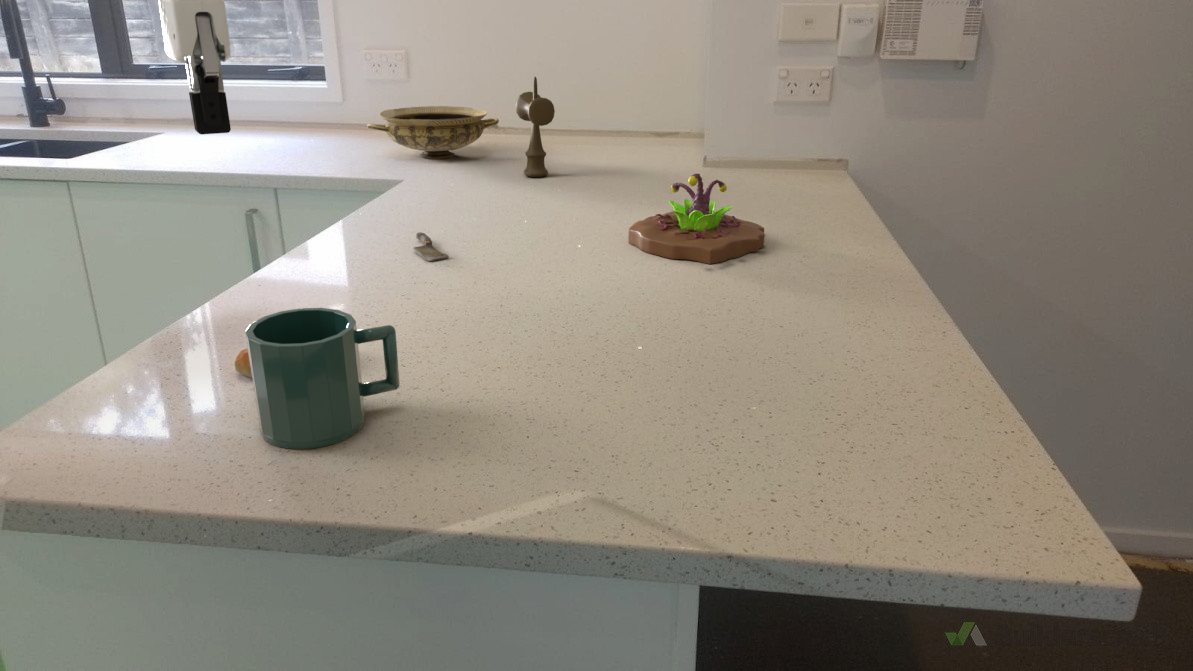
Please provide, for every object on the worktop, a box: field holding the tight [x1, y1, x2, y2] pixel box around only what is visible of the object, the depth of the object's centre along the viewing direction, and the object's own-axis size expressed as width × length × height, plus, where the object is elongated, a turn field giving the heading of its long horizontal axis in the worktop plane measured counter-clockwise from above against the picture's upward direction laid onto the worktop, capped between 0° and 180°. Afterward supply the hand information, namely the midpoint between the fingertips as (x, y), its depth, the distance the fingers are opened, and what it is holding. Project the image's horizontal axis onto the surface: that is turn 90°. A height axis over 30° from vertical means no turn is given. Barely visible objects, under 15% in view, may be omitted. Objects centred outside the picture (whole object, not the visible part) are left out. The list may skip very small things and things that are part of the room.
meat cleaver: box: [412, 231, 449, 262], centre depth 125 cm, size 12×1×5 cm
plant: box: [627, 173, 766, 265], centre depth 129 cm, size 20×20×11 cm
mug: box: [244, 307, 401, 450], centre depth 74 cm, size 12×9×10 cm
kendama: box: [515, 76, 556, 178], centre depth 172 cm, size 6×10×20 cm, turn 21°
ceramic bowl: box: [366, 105, 499, 159], centre depth 192 cm, size 30×24×10 cm
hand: (213, 132), depth 87 cm, fingers closed
